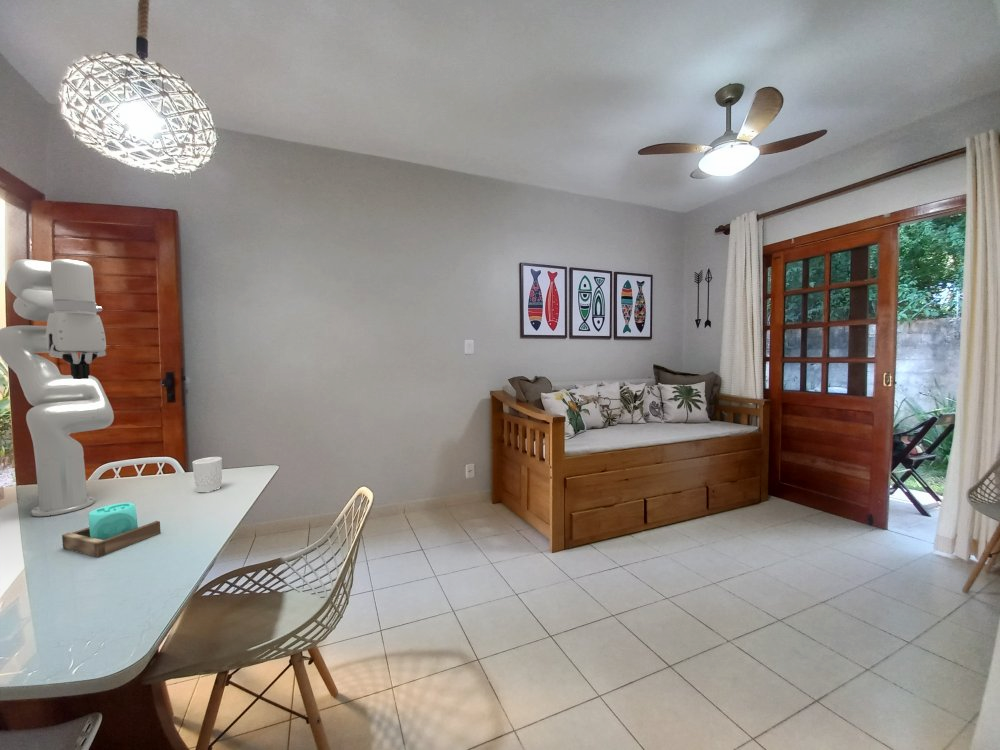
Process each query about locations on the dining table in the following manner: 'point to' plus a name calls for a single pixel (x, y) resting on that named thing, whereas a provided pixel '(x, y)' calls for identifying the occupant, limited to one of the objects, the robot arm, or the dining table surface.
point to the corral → (107, 540)
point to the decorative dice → (112, 520)
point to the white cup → (207, 473)
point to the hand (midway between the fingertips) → (81, 378)
